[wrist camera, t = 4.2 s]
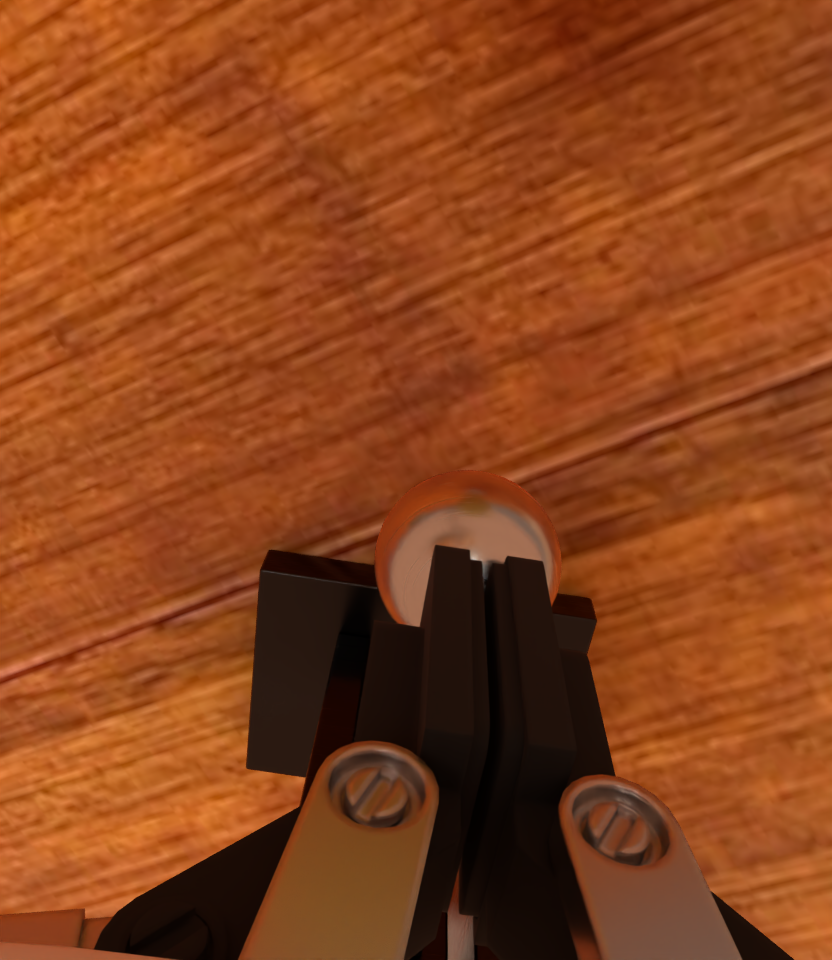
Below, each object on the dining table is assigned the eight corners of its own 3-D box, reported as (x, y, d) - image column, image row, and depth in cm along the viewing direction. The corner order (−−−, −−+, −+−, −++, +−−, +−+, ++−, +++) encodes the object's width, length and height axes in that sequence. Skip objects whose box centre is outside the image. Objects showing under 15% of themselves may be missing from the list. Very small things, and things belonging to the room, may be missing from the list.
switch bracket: (268, 548, 24) (118, 904, 13) (591, 597, 24) (695, 986, 14) (253, 743, 28) (125, 1147, 17) (536, 785, 28) (584, 1210, 17)
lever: (393, 434, 15) (381, 495, 12) (565, 461, 15) (596, 528, 12) (317, 953, 19) (293, 1095, 16) (449, 972, 19) (450, 1117, 16)
